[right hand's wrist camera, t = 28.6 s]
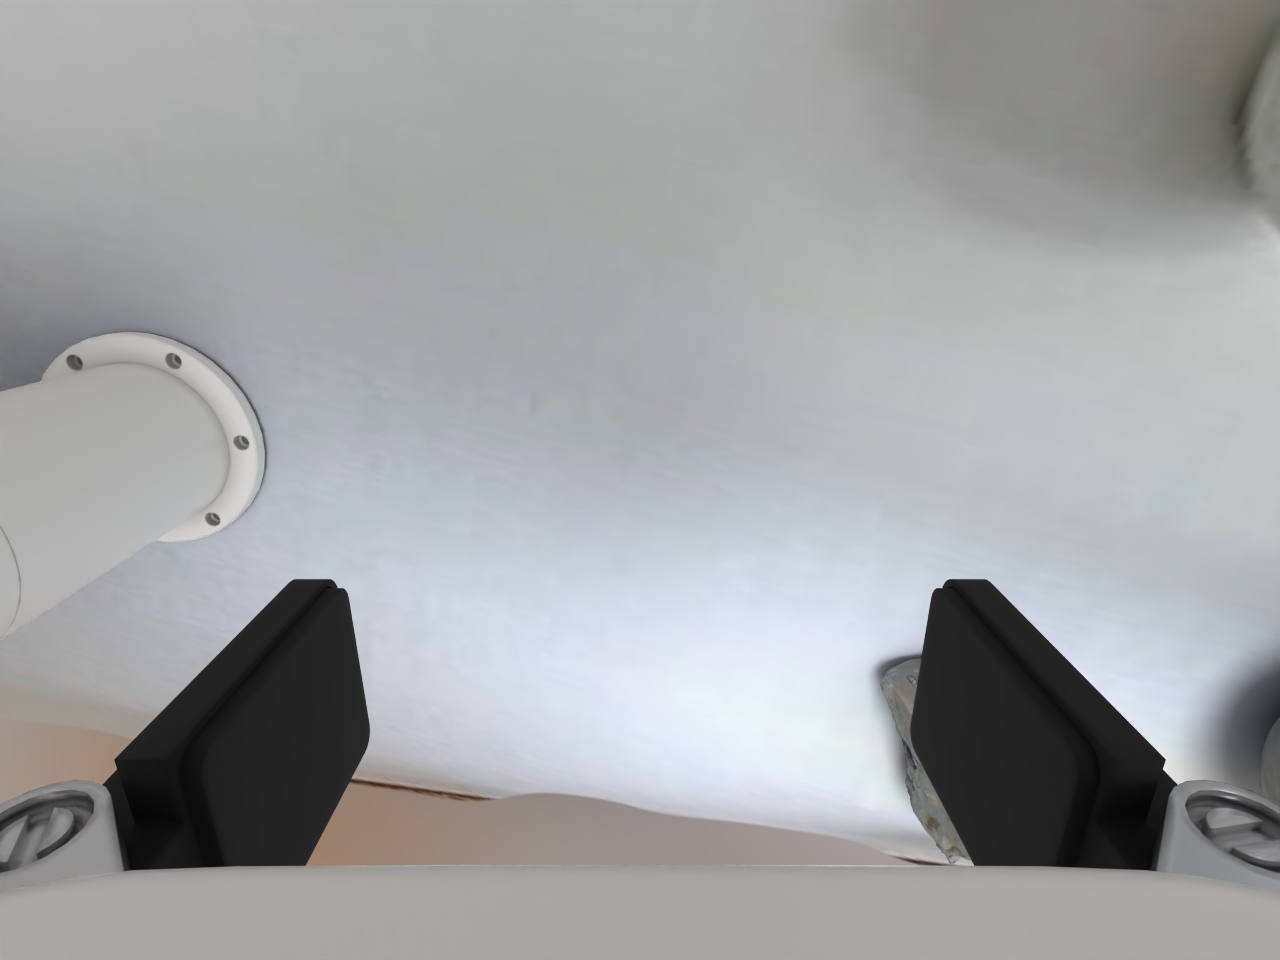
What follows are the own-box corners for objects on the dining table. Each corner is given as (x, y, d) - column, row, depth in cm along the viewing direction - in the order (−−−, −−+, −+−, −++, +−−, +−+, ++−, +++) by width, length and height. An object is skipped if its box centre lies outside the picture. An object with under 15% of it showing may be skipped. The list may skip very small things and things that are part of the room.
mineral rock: (952, 817, 51) (1023, 952, 41) (817, 783, 50) (858, 913, 40) (1039, 677, 47) (1140, 791, 37) (893, 635, 45) (959, 742, 36)
